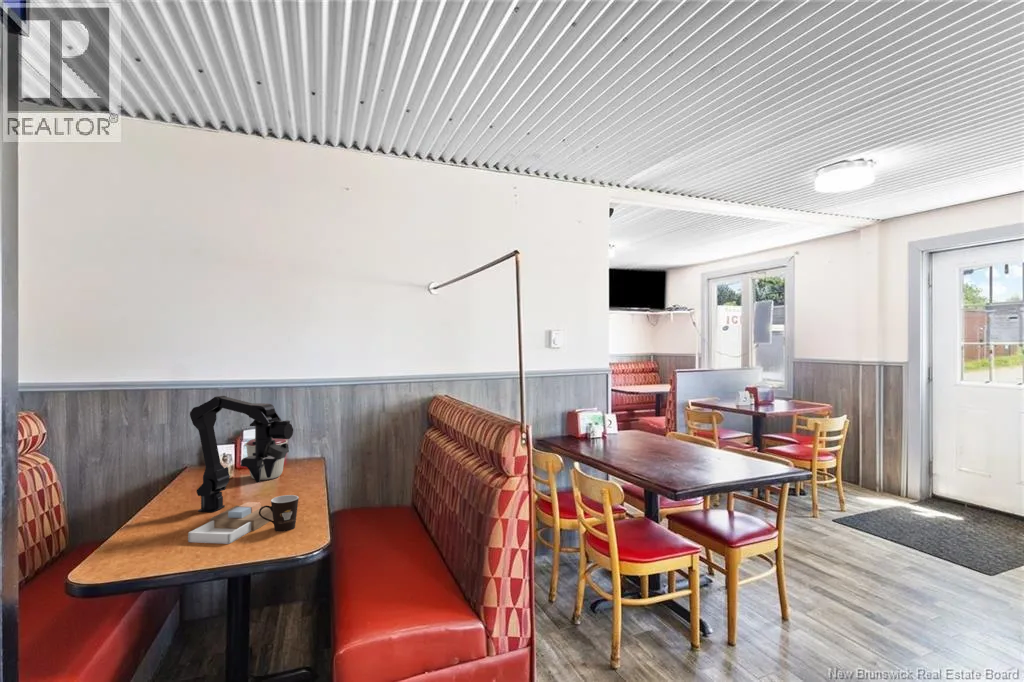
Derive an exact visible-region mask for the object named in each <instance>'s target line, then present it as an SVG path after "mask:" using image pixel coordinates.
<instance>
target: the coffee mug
mask: <svg viewBox="0 0 1024 682" xmlns="http://www.w3.org/2000/svg"><path fill="white" fill-rule="evenodd" d="M270 504H271V506H270V505H264V506H263V505H262V506H263V507H261V508H260V510H259V515H260V516H261V517H262V518H263V519H265V520H267V521H270V522H269V523H272V524H273V527H274V528H273V529H274V531H275V532H278V533H279V532H280V533H281V532H282V533H284V532H289V531H292V530H294V529H295V528H296V523H297V522H296V521H297V515H298V514H297V513H298V506H299V496H298V495H294V494H288V495H287V494H286V495H285V494H284V495H279V496H275V497H273V498H272V499H270ZM265 507H268V508H270V510H271V511H272V513H273V520H270V519H267V518H265V517H263V516H262V515H261V510H262V509H263V508H265Z"/></svg>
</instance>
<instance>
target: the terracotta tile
mask: <svg viewBox="0 0 1024 682" xmlns="http://www.w3.org/2000/svg"><path fill="white" fill-rule="evenodd" d="M238 506H239V507H251V513H252V512H254V511H256V510H258V509H260V508H261V506H262V503H261V502H259V501H258V502H257V501H256V502H255V501H247V502H244V503H243V504H241V505H238Z"/></svg>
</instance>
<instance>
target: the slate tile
mask: <svg viewBox="0 0 1024 682" xmlns="http://www.w3.org/2000/svg"><path fill="white" fill-rule="evenodd" d="M250 513H251V507H237V508H235V509H233V510H231V511H229V512H228V518H243V517H245V516H247V515H249V514H250Z"/></svg>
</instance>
